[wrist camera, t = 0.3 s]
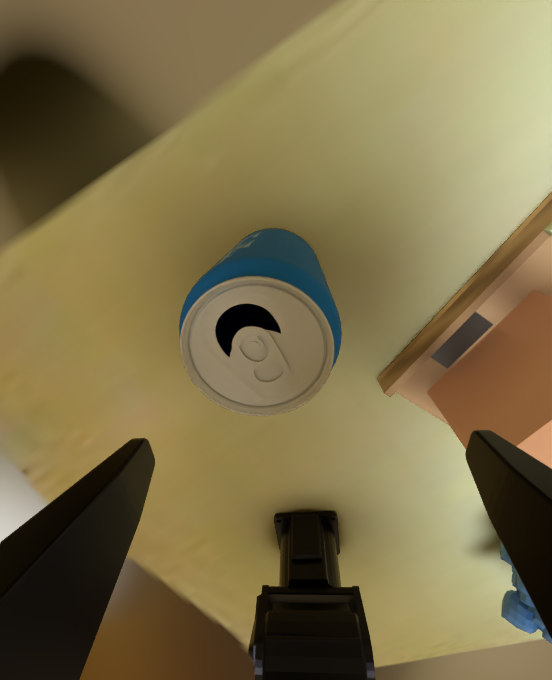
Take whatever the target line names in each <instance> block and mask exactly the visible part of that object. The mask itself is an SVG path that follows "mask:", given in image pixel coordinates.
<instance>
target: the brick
mask: <svg viewBox="0 0 552 680" xmlns="http://www.w3.org/2000/svg"><path fill="white" fill-rule="evenodd" d="M427 393H428V394H429V396H430V397H431V399H432V400H433V402H434V403H435V405H436V406H437V407H438V409H439V410H440V412H441V413H442V415H443V416H444V418H445V419H446V421H447V422H448V424H449V425H450V427H451V428H452V429H453V431H454V432H455V434H456V435H457V437H458V438H459V440H460V441H461V443H462V444H463V446H464V447H465V449H467V445H468V442H469V439H470V435H471V433H472V432H473V431H474V430H490V431H492V432H494V433H496V434H497V435H499V436H501V437H502V438H504V439H505V440H507V441H509V442H510V443H512V444H513V445H515V446H516V447H518V448H520V449H521V450H523V451H524V452H526V453H528V454H529V455H531V456H532V457H534V458H536V459H537V460H539V461H540V462H542V463H543V464H545V465H547V466H548V467H550V468H551V469H552V298H551V297H548V296H546V295H543V294H541V293H538V292H536V291H532V292H531V293H530V294H529V295H528V296H527V297H526V298H525V299H524V300H523V301H522V302H520V303H519V304H518V305H517V306H516V307H515V308H514V309H513V310H512V311H511V312H510V313H509V314H508V315H507V316H506V317H505V318H504V319H503V320H502V321H501V322H500V323H498V324H497V325H496V326H495V327H494V328H493V329H492V330H491V331H490V332H489V333H488V334H487V335H486V336H485V337H484V338H483V339H482V340H481V341H480V342H479V343H478V344H476V345H475V346H474V347H473V348H472V349H471V350H470V351H469V352H468V353H467V354H466V355H465V356H464V357H463V358H462V359H461V360H460V361H459V362H458V363H457V364H456V365H454V366H453V367H452V368H451V369H450V370H449V371H448V372H447V373H446V374H445V375H444V376H443V377H442V378H441V379H440V380H439V381H438V382H437V383H436V384H435V385H434V386H432V387H431V388H430V389H429V390H428V391H427Z"/></svg>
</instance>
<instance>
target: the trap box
mask: <svg viewBox="0 0 552 680" xmlns="http://www.w3.org/2000/svg"><path fill="white" fill-rule="evenodd" d="M532 291H536V292H538V293H541V294H543V295H546V296H548V297H551V298H552V193H551V194H550V195H549V196H548V197H547V198H546V199H545V200H544V201H543V202H542V203H541V204H540V205H539V206H538V208H537V209H536V210H535V211H534V212H533V213H532V214H531V215H530V216H529V217H528V218H527V219H526V220H525V221H524V222H523V224H522V225H521V226H520V227H519V228H518V229H517V230H516V231H515V232H514V233H513V234H512V235H511V236H510V237H509V238H508V240H507V241H506V242H505V243H504V244H503V245H502V246H501V247H500V248H499V249H498V250H497V251H496V252H495V253H494V254H493V255H492V257H491V258H490V259H489V260H488V261H487V262H486V263H485V264H484V265H483V266H482V267H481V268H480V269H479V270H478V271H477V273H476V274H475V275H474V276H473V277H472V278H471V279H470V280H469V281H468V282H467V283H466V284H465V285H464V286H463V287H462V289H461V290H460V291H459V292H458V293H457V294H456V295H455V296H454V297H453V298H452V299H451V300H450V301H449V302H448V303H447V305H446V306H445V307H444V308H443V309H442V310H441V311H440V312H439V313H438V314H437V315H436V316H435V317H434V318H433V319H432V321H431V322H430V323H429V324H428V325H427V326H426V327H425V328H424V329H423V330H422V331H421V332H420V333H419V334H418V335H417V337H416V338H415V339H414V340H413V341H412V342H411V343H410V344H409V345H408V346H407V347H406V348H405V349H404V350H403V351H402V352H401V354H400V355H399V356H398V357H397V358H396V359H395V360H394V361H393V362H392V363H391V364H390V365H389V366H388V367H387V368H386V370H385V371H384V372H383V373H382V374H381V375H380V376H379V377H378V378H377V379H378V381H379V383H380V385H381V388H382V390H383V392H384V394H386V395H388V396H389V397H391V396H392V395H393V394H394V393H395V392H396V393H398V394H399V395H401V396H403V397H404V398H406V399H408V400H409V401H411V402H412V403H414V404H416V405H417V406H419V407H421V408H422V409H424V410H425V411H427V412H429V413H430V414H432V415H433V416H435V417H437V418H438V419H440V420H442V421H443V422H445V423H446V424H448V422H447V421H446V419H445V418H444V416H443V415H442V413H441V412H440V410H439V409H438V407H437V406H436V405H435V403H434V402H433V400H432V399H431V397H430V396H429V394H428V393H427V391H428V390H429V389H430V388H431V387H432V386H434V385H435V384H436V383H437V382H438V381H439V380H440V379H441V378H442V377H443V376H444V375H445V374H446V373H447V372H448V371H449V370H450V369H451V368H452V367H453V366H454V365H456V364H457V363H458V362H459V361H460V360H461V359H462V358H463V357H464V356H465V355H466V354H467V353H468V352H469V351H470V350H471V349H472V348H473V347H474V346H475V345H476V344H478V343H479V342H480V341H481V340H482V339H483V338H484V337H485V336H486V335H487V334H488V333H489V332H490V331H491V330H492V329H493V328H494V327H495V326H496V325H497V324H498V323H500V322H501V321H502V320H503V319H504V318H505V317H506V316H507V315H508V314H509V313H510V312H511V311H512V310H513V309H514V308H515V307H516V306H517V305H518V304H519V303H520V302H522V301H523V300H524V299H525V298H526V297H527V296H528V295H529V294H530V293H531V292H532ZM448 425H449V424H448Z"/></svg>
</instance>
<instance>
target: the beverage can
mask: <svg viewBox="0 0 552 680" xmlns="http://www.w3.org/2000/svg"><path fill="white" fill-rule="evenodd" d="M179 330H180V351H181V357H182V361H183V364H184V367H185V369H186V371H187V373H188V375H189V377H190V378H191V380H192V381H193V383H194V384H195V385H196V387H197V388H198V389H199V390H200V391H201V392H202V393H203V394H204V395H205V396H206V397H208V398H209V399H210V400H212V401H213V402H215V403H216V404H218V405H220V406H222V407H224V408H226V409H228V410H231V411H234V412H237V413H240V414H245V415H252V416H271V415H277V414H282V413H285V412H288V411H291V410H294V409H296V408H298V407H300V406H301V405H303V404H305V403H306V402H308V401H309V400H310V399H311V398H313V397H314V396H315V395H316V394H317V393H318V392H319V391H320V389H321V388H322V386H323V385H324V384H325V382H326V380H327V378H328V376H329V374H330V371H331V370H332V368H333V366H334V364H335V362H336V359H337V357H338V354H339V350H340V345H341V334H342V333H341V322H340V318H339V313H338V311H337V308H336V306H335V303H334V300H333V298H332V295H331V293H330V290H329V288H328V285H327V282H326V280H325V277H324V275H323V272H322V270H321V267H320V264H319V262H318V259H317V257H316V255H315V253H314V251H313V250H312V248H311V247H310V246H309V245H308V244H307V243H306V241H304V240H303V239H302V238H301V237H299V236H297V235H296V234H294V233H292V232H289V231H286V230H282V229H263V230H260V231H256V232H254V233H252V234H250V235H248V236H247V237H245V238H244V239H243V240H242V241H240V242H239V243H238V244H237V245H236V246H235V247H234V248H233V249H232V250H231V251H230V252H229V253H227V254H226V255H225V256H224V257H223V258H222V259H221V260H220V261H219V262H218V263H217V264H216V265H215V266H214V267H212V268H211V269H210V270H209V271H208V272H207V273H206V274H205V275H204V276H203V277H202V278H201V279H200V280H199V281H198V282H197V283H196V284H195V285H194V287H193V288H192V290H191V291H190V293H189V294H188V296H187V298H186V300H185V303H184V305H183V308H182V312H181V316H180V325H179Z"/></svg>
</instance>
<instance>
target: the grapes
mask: <svg viewBox="0 0 552 680" xmlns="http://www.w3.org/2000/svg"><path fill="white" fill-rule="evenodd" d="M500 554H501V559H502V560H504V561H505V562H507V563H508V564H510V565H511V566H512V572H513V574H512V583H513V586H514V587H516V588H517V591H513V590H510V591H507V592H506V593H505V595H504V597H503V600H502V615H501V616H502V617H503V618H505V619H506V620H507V621H509V622H510V623H511V624H513V625H514V626H515V627H517V628H519V629H521V630H523V631H525V632H528V633H530V634H531V633H534V632H536V630H537V629H540V630H541V631H542V632H543V634H542V637H543V638H545V639H546V640H547V641H549V642H550V643H552V639H551V637H550V635H549V633H548V631H547V629H546V627H545V625H544V624H543V622H542V620H541V618H540V616H539V614H538V612H537V610H536V608H535V606H534V604H533V602H532V600H531V598H530V596H529V594H528V592H527V590H526V588H525V587H524V585H523V583H522V581H521V579H520V577H519V575H518V573H517V571H516V569H515V567H514V565H513V563H512V561H511V559H510V557H509V555H508V553H507V552H506V550H505V548H504V546H503V544H502V542H501V547H500Z"/></svg>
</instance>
